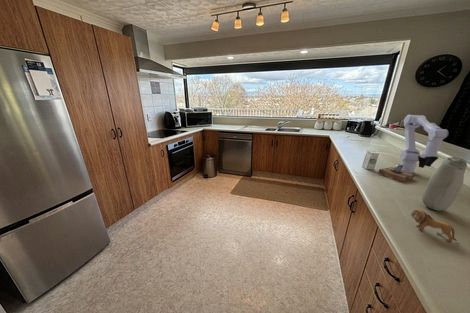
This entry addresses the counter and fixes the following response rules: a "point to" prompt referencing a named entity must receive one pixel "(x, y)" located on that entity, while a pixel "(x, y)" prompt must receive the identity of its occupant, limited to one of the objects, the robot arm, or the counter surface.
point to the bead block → (399, 177)
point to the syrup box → (370, 160)
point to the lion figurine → (432, 224)
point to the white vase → (445, 184)
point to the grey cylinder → (398, 168)
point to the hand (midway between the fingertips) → (424, 166)
